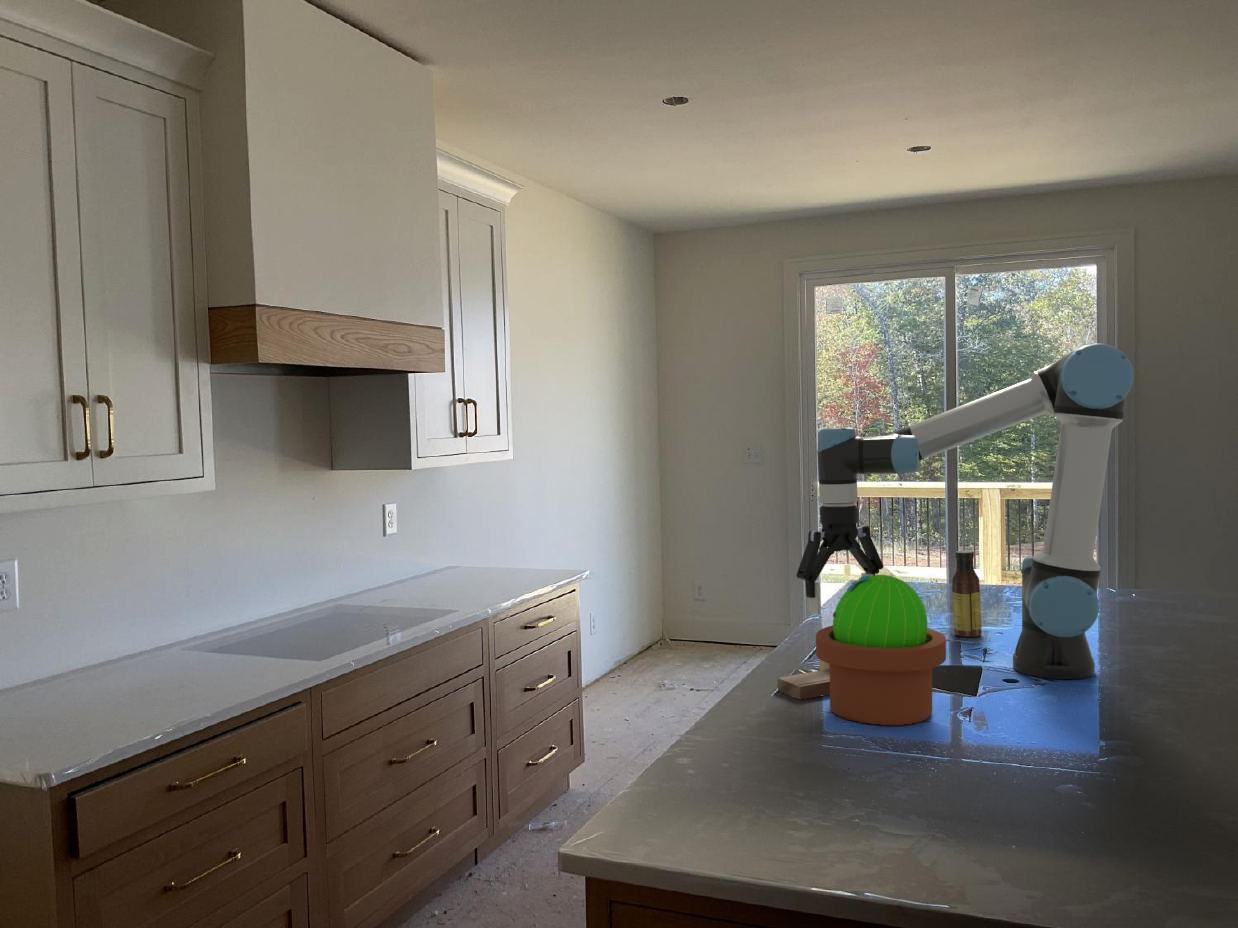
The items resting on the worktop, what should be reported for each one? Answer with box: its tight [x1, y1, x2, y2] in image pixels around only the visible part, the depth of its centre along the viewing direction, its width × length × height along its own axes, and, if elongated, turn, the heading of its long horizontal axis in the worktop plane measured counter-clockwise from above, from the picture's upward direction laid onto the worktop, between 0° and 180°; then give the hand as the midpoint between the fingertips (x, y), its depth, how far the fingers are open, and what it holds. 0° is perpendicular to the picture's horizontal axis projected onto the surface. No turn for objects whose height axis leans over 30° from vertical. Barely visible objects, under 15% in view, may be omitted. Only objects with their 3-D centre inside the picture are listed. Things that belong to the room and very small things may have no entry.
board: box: [777, 669, 830, 701], centre depth 187 cm, size 7×22×3 cm, turn 117°
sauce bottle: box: [951, 549, 983, 638], centre depth 227 cm, size 7×6×20 cm
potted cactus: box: [815, 571, 947, 726], centre depth 171 cm, size 22×22×25 cm
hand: (842, 609), depth 196 cm, fingers open, 13 cm apart
